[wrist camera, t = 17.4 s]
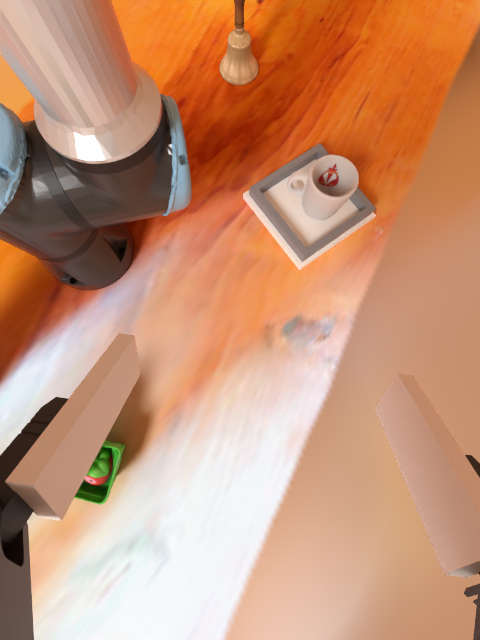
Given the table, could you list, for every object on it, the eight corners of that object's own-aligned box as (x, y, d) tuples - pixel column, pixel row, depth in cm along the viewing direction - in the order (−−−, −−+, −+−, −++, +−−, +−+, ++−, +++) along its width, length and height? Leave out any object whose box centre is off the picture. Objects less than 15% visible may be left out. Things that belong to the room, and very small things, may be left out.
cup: (278, 216, 47) (287, 187, 39) (287, 180, 48) (297, 144, 40) (334, 230, 47) (355, 204, 39) (342, 193, 48) (363, 160, 40)
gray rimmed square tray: (242, 197, 49) (243, 186, 45) (315, 151, 51) (320, 137, 47) (299, 270, 46) (304, 263, 43) (372, 219, 48) (382, 209, 45)
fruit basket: (52, 470, 40) (-18, 512, 29) (71, 413, 42) (11, 433, 30) (121, 487, 40) (77, 537, 29) (137, 430, 41) (102, 456, 30)
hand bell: (230, 91, 53) (228, -25, 37) (213, 61, 54) (204, -64, 38) (265, 77, 53) (278, -42, 38) (247, 48, 54) (253, -79, 39)
